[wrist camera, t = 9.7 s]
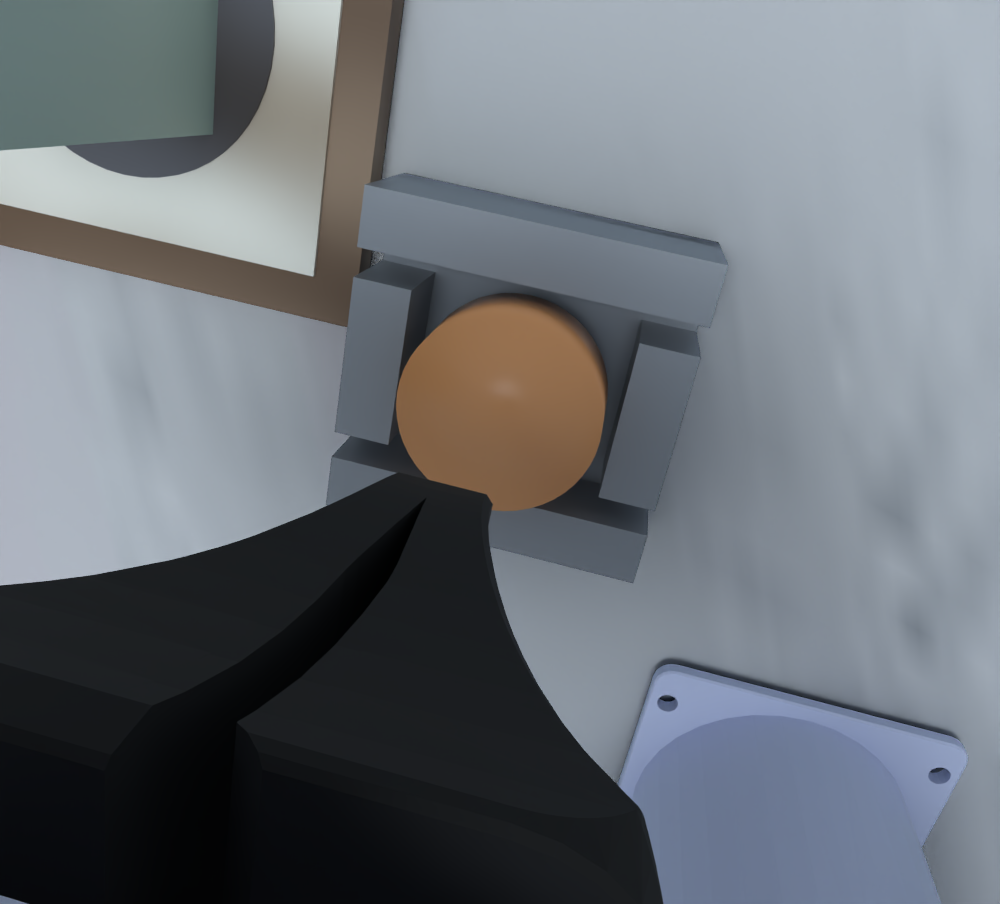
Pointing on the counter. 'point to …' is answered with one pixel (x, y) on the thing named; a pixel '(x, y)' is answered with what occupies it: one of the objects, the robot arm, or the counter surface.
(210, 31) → the green square bottle
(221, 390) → the counter surface
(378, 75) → the drawing board
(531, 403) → the button
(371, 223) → the button housing
